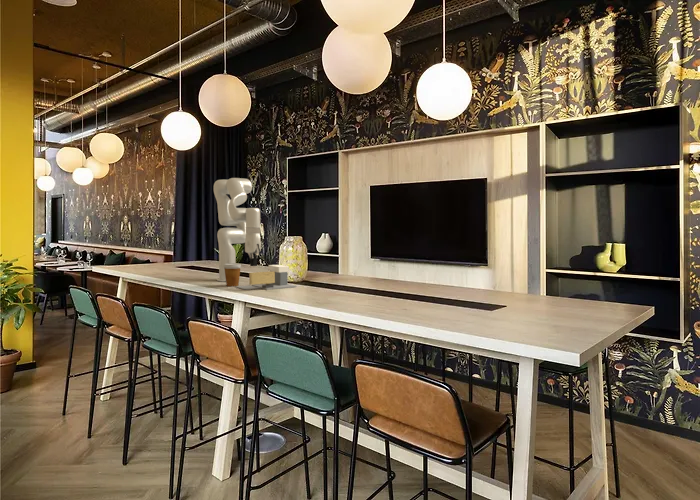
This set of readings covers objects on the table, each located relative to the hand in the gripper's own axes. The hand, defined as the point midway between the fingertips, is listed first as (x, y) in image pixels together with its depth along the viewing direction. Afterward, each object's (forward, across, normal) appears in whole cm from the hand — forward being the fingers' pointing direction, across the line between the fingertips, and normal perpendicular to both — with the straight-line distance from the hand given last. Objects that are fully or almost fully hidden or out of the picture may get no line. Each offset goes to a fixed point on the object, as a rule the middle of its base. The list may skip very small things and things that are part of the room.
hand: (253, 265), depth 246 cm
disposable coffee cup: (+12, -16, -5) cm, 20 cm away
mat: (+12, -3, -2) cm, 13 cm away
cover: (+4, -3, +16) cm, 17 cm away
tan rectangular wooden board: (+10, +5, +2) cm, 11 cm away
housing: (+12, 0, +12) cm, 17 cm away
